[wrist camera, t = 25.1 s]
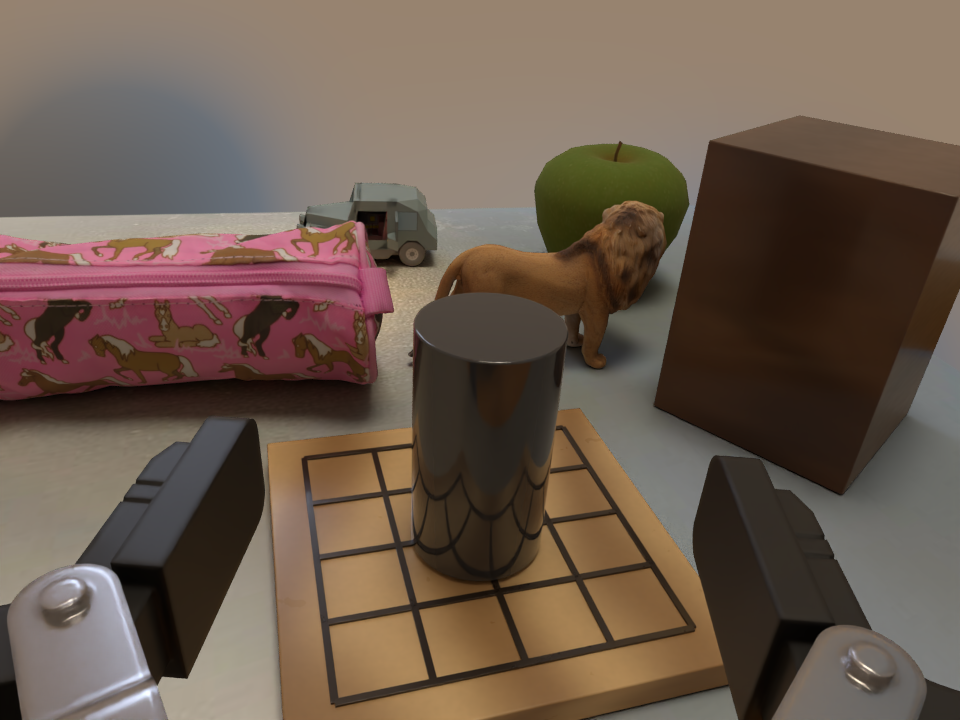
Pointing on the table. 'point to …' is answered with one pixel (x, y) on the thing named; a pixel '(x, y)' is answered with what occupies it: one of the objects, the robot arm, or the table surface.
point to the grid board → (477, 595)
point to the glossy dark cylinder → (483, 431)
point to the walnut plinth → (813, 291)
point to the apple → (605, 190)
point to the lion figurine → (573, 273)
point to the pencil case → (189, 310)
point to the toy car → (383, 220)
